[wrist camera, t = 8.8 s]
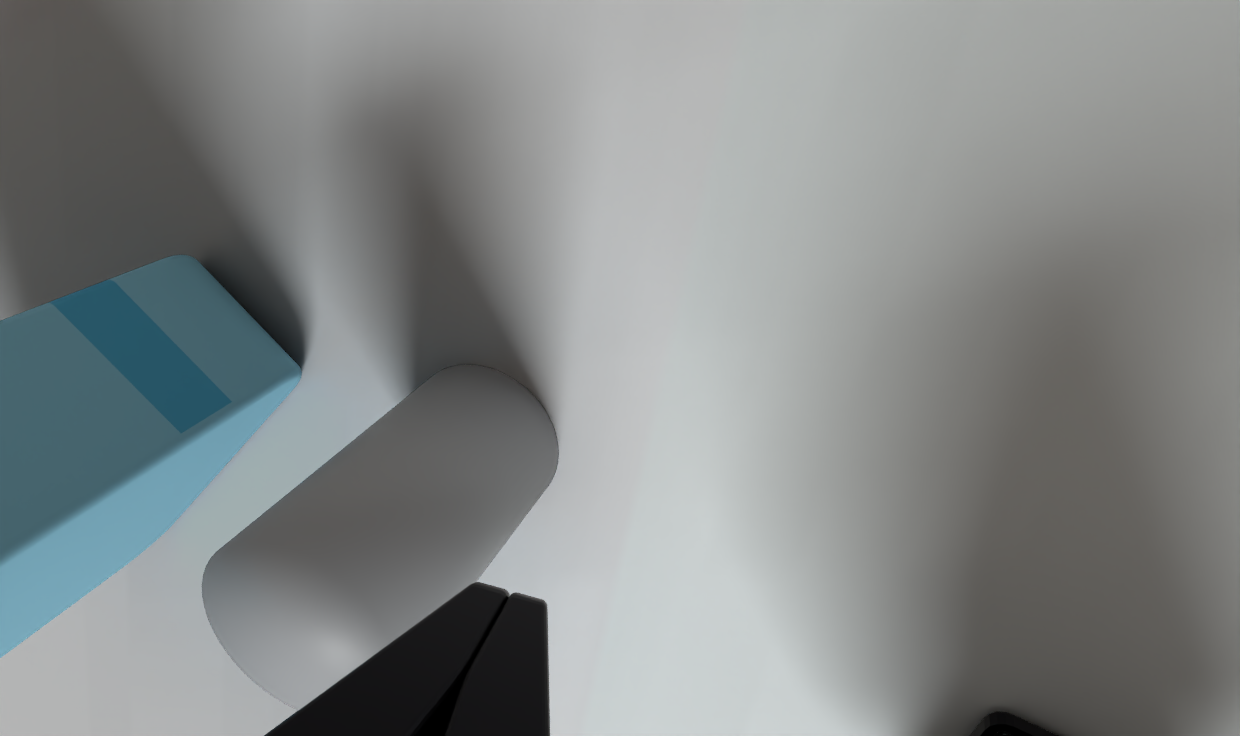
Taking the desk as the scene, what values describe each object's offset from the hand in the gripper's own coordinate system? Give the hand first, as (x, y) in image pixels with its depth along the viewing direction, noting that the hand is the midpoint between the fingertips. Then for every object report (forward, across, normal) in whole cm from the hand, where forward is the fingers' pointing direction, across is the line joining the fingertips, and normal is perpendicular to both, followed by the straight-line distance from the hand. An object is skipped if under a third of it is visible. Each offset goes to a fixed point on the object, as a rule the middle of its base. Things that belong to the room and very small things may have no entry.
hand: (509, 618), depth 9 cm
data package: (+13, +15, +9) cm, 22 cm away
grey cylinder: (+12, +4, +7) cm, 14 cm away
